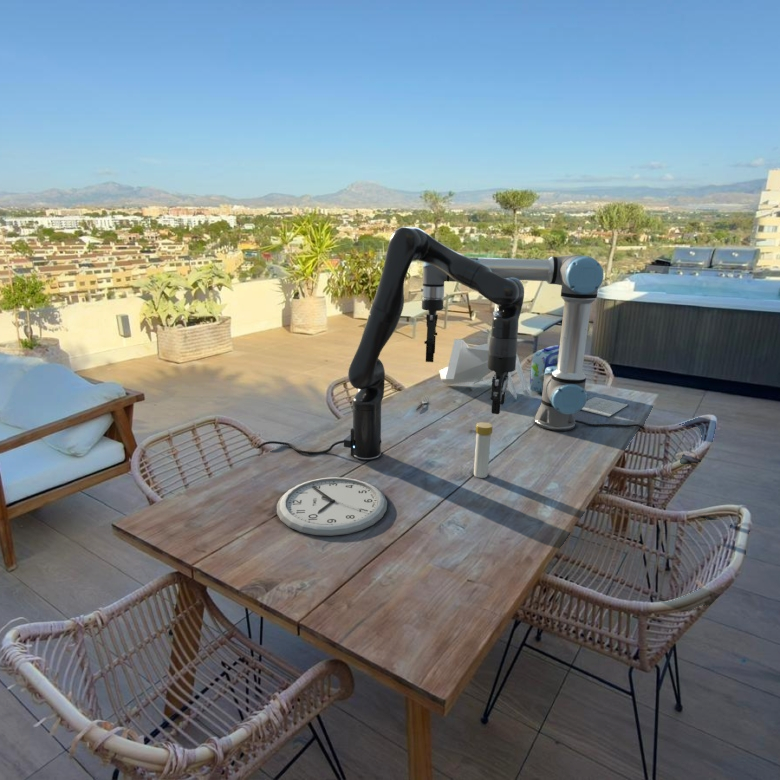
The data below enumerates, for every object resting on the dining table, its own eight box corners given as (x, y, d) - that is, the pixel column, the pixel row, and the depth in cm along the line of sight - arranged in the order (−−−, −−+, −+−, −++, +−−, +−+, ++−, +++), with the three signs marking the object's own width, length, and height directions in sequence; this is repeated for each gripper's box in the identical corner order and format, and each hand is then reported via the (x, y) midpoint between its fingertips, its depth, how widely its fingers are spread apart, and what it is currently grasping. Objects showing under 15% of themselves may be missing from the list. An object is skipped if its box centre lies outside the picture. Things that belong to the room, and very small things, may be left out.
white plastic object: (461, 429, 252) (437, 405, 227) (444, 352, 274) (420, 323, 250) (535, 404, 240) (518, 377, 215) (510, 326, 262) (492, 293, 237)
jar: (483, 479, 159) (487, 430, 154) (471, 475, 161) (474, 426, 157) (489, 474, 163) (493, 425, 158) (477, 470, 165) (480, 422, 160)
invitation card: (608, 416, 214) (573, 407, 224) (608, 416, 214) (573, 408, 224) (628, 404, 229) (594, 396, 238) (628, 405, 229) (594, 397, 238)
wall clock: (392, 527, 129) (268, 531, 127) (391, 533, 130) (269, 537, 127) (383, 473, 158) (282, 475, 155) (383, 478, 158) (282, 480, 156)
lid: (487, 436, 154) (488, 429, 154) (472, 432, 157) (473, 425, 156) (494, 431, 158) (495, 424, 158) (479, 428, 161) (480, 421, 160)
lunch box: (546, 398, 236) (551, 353, 229) (525, 393, 243) (529, 349, 237) (573, 387, 253) (579, 344, 247) (553, 382, 260) (558, 341, 254)
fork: (413, 411, 216) (413, 406, 216) (424, 399, 231) (424, 395, 230) (419, 411, 216) (419, 407, 215) (429, 400, 230) (429, 396, 229)
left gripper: (493, 346, 150) (488, 399, 155) (484, 357, 137) (479, 415, 142) (519, 348, 148) (514, 402, 153) (513, 359, 135) (507, 418, 140)
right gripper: (424, 293, 195) (422, 349, 202) (419, 302, 172) (417, 365, 178) (444, 294, 195) (441, 350, 201) (442, 303, 171) (439, 366, 177)
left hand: (497, 408), depth 147 cm, fingers open, 8 cm apart
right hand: (430, 357), depth 190 cm, fingers open, 13 cm apart
